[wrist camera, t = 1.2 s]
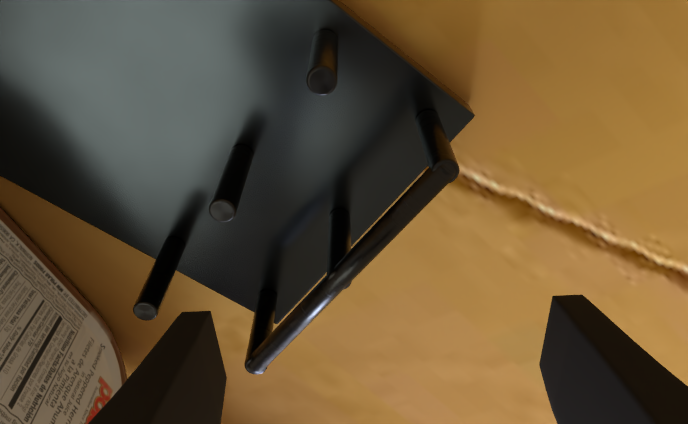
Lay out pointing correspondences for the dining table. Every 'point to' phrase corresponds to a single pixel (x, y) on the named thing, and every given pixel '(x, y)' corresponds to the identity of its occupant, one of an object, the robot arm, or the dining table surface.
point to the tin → (49, 341)
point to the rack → (226, 141)
